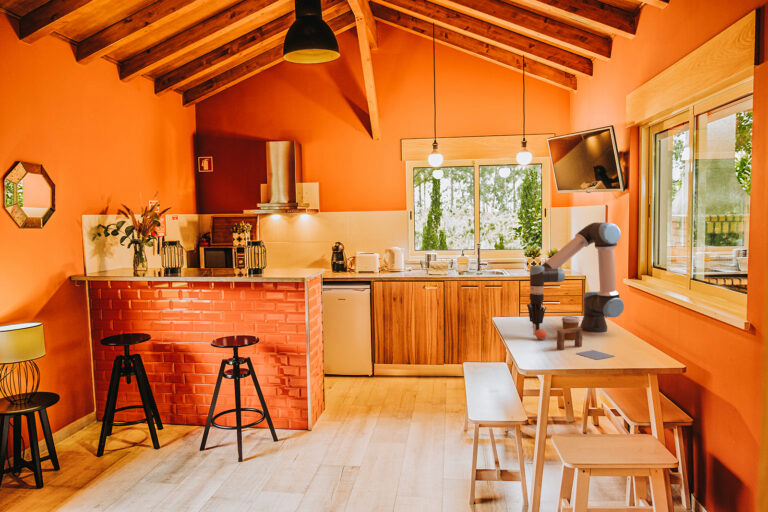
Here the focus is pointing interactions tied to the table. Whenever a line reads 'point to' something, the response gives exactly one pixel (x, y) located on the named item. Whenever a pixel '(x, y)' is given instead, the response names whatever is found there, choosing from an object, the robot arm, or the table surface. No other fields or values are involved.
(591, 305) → the robot arm
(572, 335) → the disposable coffee cup
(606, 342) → the table surface
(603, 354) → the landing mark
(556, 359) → the table surface
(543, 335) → the ball
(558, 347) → the bridge
